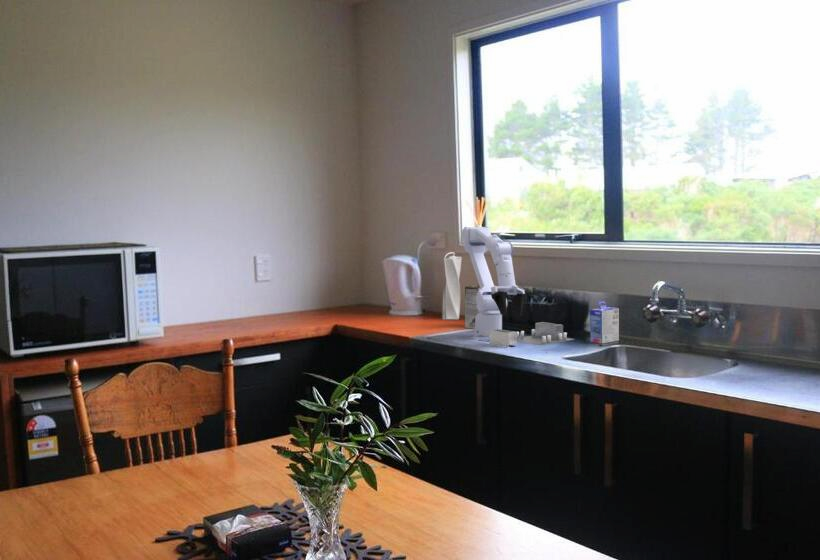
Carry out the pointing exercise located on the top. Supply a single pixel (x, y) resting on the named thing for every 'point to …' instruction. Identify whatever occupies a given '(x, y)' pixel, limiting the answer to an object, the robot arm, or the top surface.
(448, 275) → the skyscraper
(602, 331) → the ink cartridge box
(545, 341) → the tray
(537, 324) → the seated drive
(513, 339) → the grey rectangular block
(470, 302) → the coffee box
